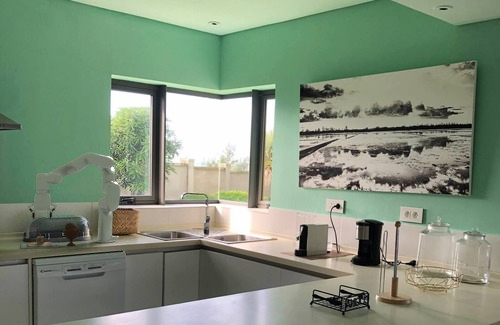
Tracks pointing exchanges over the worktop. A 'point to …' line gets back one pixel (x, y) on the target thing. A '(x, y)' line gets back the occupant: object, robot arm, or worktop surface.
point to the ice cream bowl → (71, 233)
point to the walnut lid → (40, 243)
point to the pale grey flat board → (25, 246)
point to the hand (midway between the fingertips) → (42, 218)
